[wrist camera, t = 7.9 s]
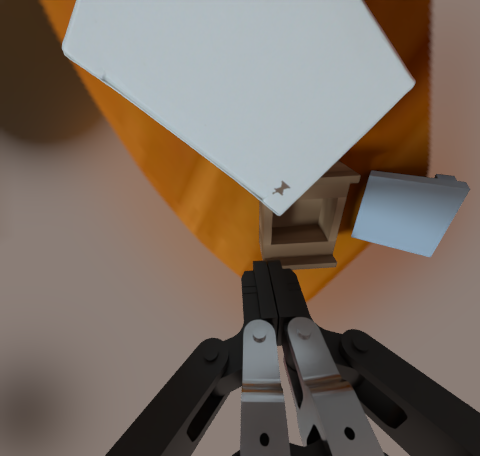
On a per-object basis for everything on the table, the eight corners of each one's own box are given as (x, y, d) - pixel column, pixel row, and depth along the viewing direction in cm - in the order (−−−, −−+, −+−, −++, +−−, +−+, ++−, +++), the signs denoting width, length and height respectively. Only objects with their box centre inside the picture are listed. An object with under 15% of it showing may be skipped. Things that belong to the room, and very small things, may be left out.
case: (259, 161, 17) (267, 180, 14) (334, 157, 17) (360, 175, 14) (259, 241, 22) (265, 271, 18) (318, 237, 22) (335, 267, 18)
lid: (470, 189, 15) (457, 169, 18) (369, 175, 17) (375, 160, 21) (430, 257, 18) (426, 229, 21) (351, 236, 21) (358, 215, 24)
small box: (309, 86, 15) (427, 86, 6) (255, 152, 17) (283, 222, 8) (213, -26, 12) (167, -355, 3) (162, 72, 14) (50, 49, 5)
